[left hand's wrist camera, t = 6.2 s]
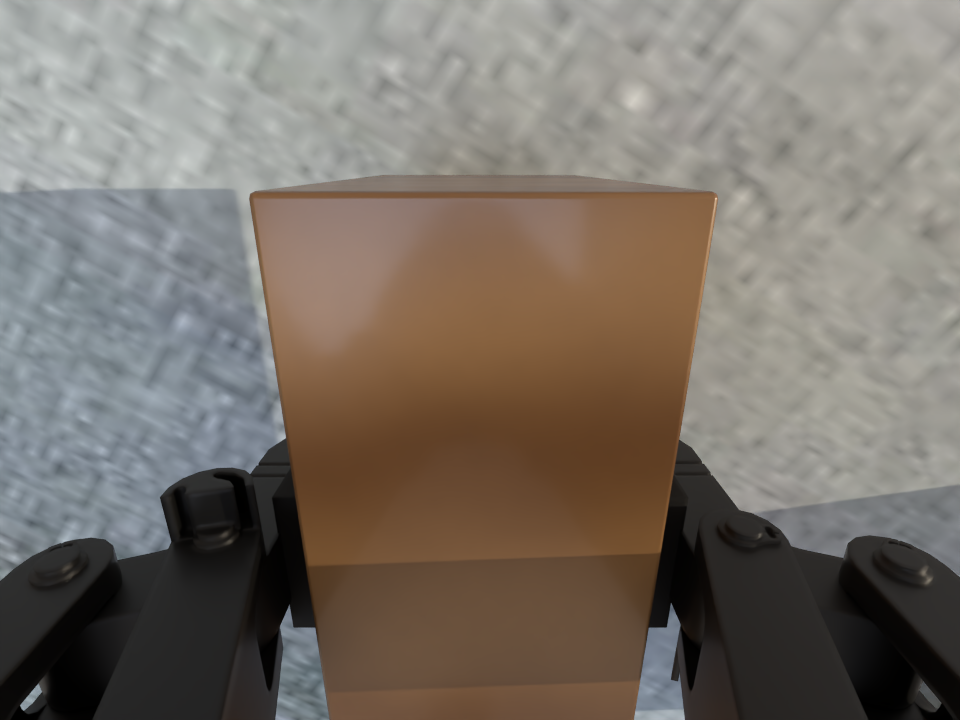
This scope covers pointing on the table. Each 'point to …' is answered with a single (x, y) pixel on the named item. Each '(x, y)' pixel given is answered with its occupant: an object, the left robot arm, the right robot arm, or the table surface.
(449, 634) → the post
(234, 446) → the table surface
